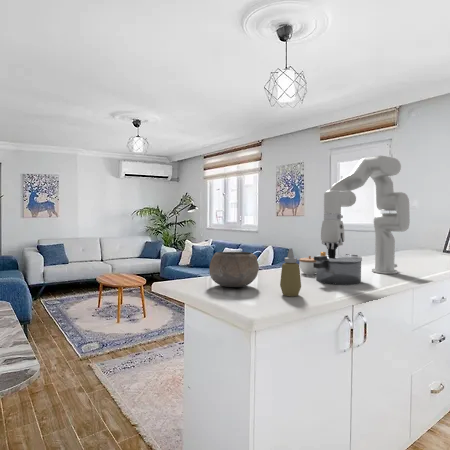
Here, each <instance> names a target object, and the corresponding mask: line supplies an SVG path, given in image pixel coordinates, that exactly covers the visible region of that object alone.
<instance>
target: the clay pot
mask: <svg viewBox="0 0 450 450" xmlns="http://www.w3.org/2000/svg"><path fill="white" fill-rule="evenodd" d="M259 266H260V265H259V262H258V257H257V255H256V254H254V253H253V252H249V251H248V252H247V251H216V252H215V253H214V254H213V256H212V258H211V260H210V262H209V267H208V268H209V271H208V272H209V276H210V279H211V280H212V281H213V282H214V283H215V284H217V285H219V286H221V287H222V286H223V287H227V288H243V287H247V286H249V285H250V284H251V283H253V281H255V279H256V278H257V276H258V275H259V270H260V269H259V268H260V267H259Z"/></svg>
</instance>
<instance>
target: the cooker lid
mask: <svg viewBox="0 0 450 450" xmlns="http://www.w3.org/2000/svg"><path fill="white" fill-rule="evenodd" d="M313 258H314V260H316V261H326V262H342V263H350V262H360V261H361V262H362V261H363V257H361V256H359V255H358V254H352V253H351V254H350V253H349V254H348V253H345V254H336V256H335V258H328V254H327V252H326V251H320V254H318V255H316V256H313Z"/></svg>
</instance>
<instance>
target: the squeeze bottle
mask: <svg viewBox="0 0 450 450" xmlns="http://www.w3.org/2000/svg"><path fill="white" fill-rule="evenodd" d="M297 259H298V258H297V257H295V255H294V251H293V248H288V252H287V257H284V262H283V263H282V264H281V273H280V282H279V287H280V290H281V293H282V295H283V296H285V297H297V296H299V293H300V291H301V288H302V282H301V281H302V279H301V269H300V263H298V260H297Z"/></svg>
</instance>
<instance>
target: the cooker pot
mask: <svg viewBox="0 0 450 450" xmlns="http://www.w3.org/2000/svg"><path fill="white" fill-rule="evenodd" d="M314 268H316V274H315V280H316V281H317V282H319V283H321V284H328V285H335V286H336V285H337V286H353V285H355V286H356V285H359V284H361V283H362V261H360V262H350V263H342V262H326V261H316V263H314Z"/></svg>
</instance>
